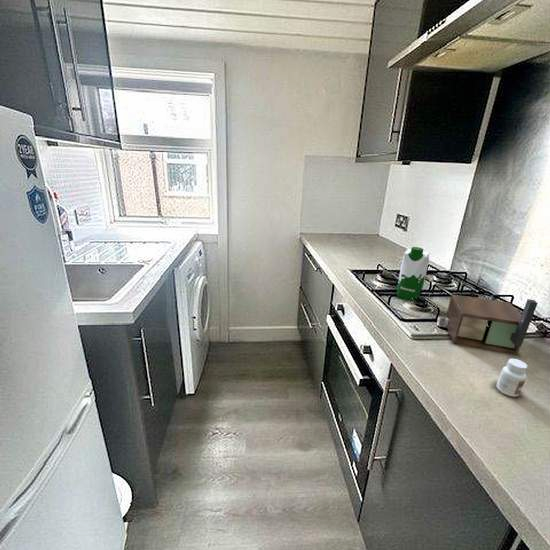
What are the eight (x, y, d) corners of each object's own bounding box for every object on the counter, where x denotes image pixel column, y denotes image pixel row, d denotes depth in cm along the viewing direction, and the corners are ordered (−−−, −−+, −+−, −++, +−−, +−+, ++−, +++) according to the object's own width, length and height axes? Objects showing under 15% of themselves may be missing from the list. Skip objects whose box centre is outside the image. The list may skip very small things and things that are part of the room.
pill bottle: (520, 400, 68) (531, 372, 65) (496, 392, 70) (506, 364, 67) (517, 388, 71) (528, 361, 68) (495, 381, 73) (505, 354, 71)
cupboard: (500, 330, 96) (509, 302, 92) (517, 354, 84) (529, 323, 80) (444, 321, 100) (451, 294, 97) (453, 343, 88) (461, 313, 85)
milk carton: (393, 297, 117) (403, 247, 110) (398, 289, 124) (408, 242, 117) (418, 303, 113) (429, 252, 105) (421, 295, 120) (432, 246, 112)
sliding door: (513, 347, 85) (532, 297, 79) (518, 355, 82) (539, 303, 76) (484, 342, 87) (501, 293, 81) (489, 349, 83) (506, 298, 78)
